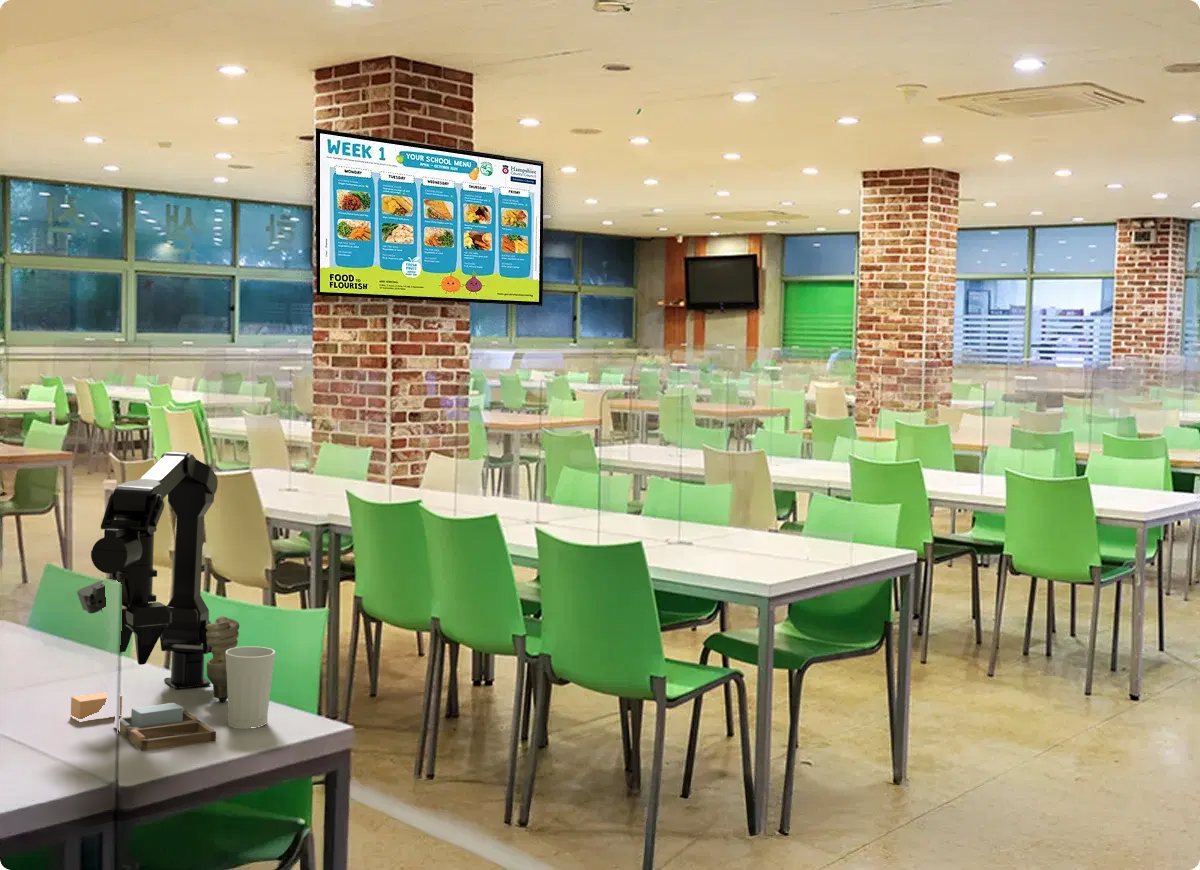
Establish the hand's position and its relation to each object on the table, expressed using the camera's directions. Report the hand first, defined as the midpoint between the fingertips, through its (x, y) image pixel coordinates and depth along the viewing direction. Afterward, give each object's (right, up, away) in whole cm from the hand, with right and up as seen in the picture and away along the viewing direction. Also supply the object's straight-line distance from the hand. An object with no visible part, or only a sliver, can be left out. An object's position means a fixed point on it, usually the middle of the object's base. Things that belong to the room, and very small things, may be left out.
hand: (131, 658), depth 219 cm
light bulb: (+10, -11, +16) cm, 22 cm away
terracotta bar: (-7, -10, +3) cm, 13 cm away
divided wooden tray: (+7, -11, -5) cm, 14 cm away
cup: (+18, -12, +4) cm, 22 cm away
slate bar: (+5, -11, -2) cm, 12 cm away
